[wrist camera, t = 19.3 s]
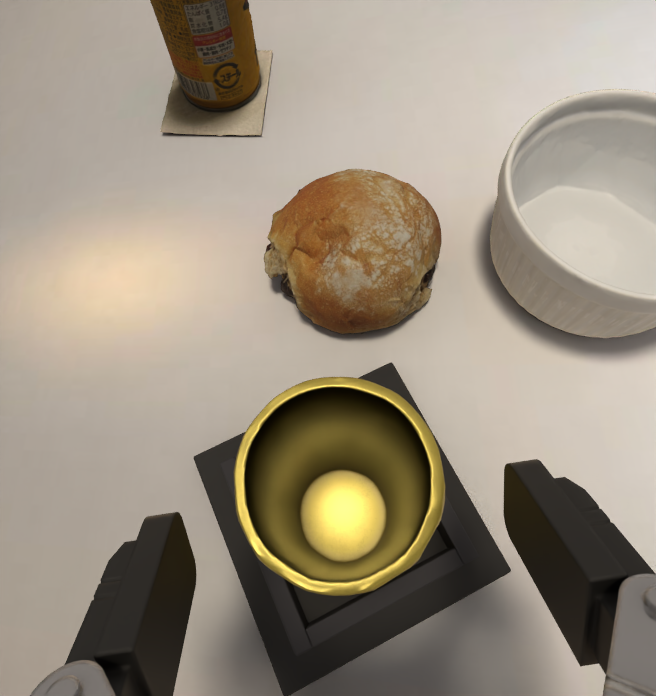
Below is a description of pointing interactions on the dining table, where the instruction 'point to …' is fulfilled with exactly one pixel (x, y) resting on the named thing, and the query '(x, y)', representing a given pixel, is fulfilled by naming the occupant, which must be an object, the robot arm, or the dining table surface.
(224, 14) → the condiment
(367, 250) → the bread roll
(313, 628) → the base pad
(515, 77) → the dining table surface
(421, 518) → the vase
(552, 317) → the ramekin
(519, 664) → the dining table surface
